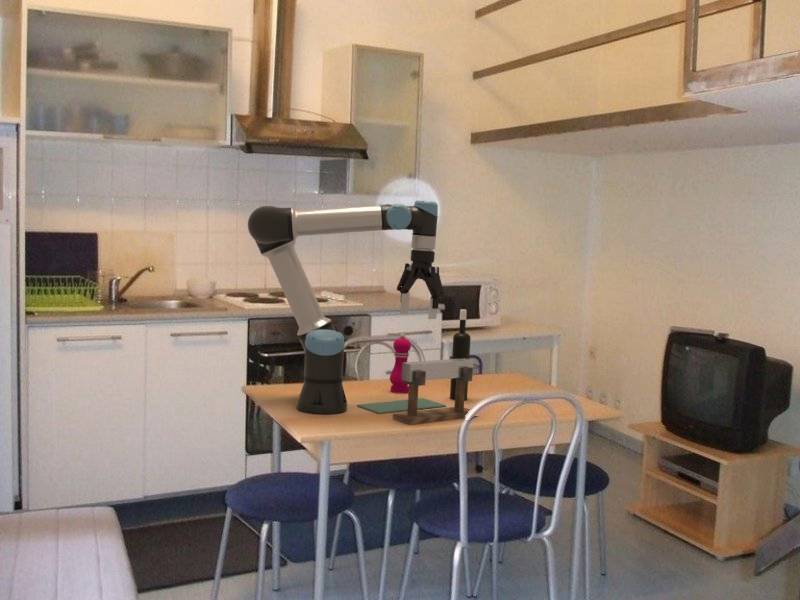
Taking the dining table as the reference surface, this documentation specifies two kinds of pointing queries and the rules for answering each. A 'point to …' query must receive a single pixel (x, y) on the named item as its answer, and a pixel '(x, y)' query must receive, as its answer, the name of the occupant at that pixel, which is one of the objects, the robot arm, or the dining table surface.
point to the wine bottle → (460, 350)
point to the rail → (436, 369)
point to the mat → (398, 406)
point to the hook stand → (436, 414)
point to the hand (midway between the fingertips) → (418, 316)
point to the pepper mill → (400, 364)
